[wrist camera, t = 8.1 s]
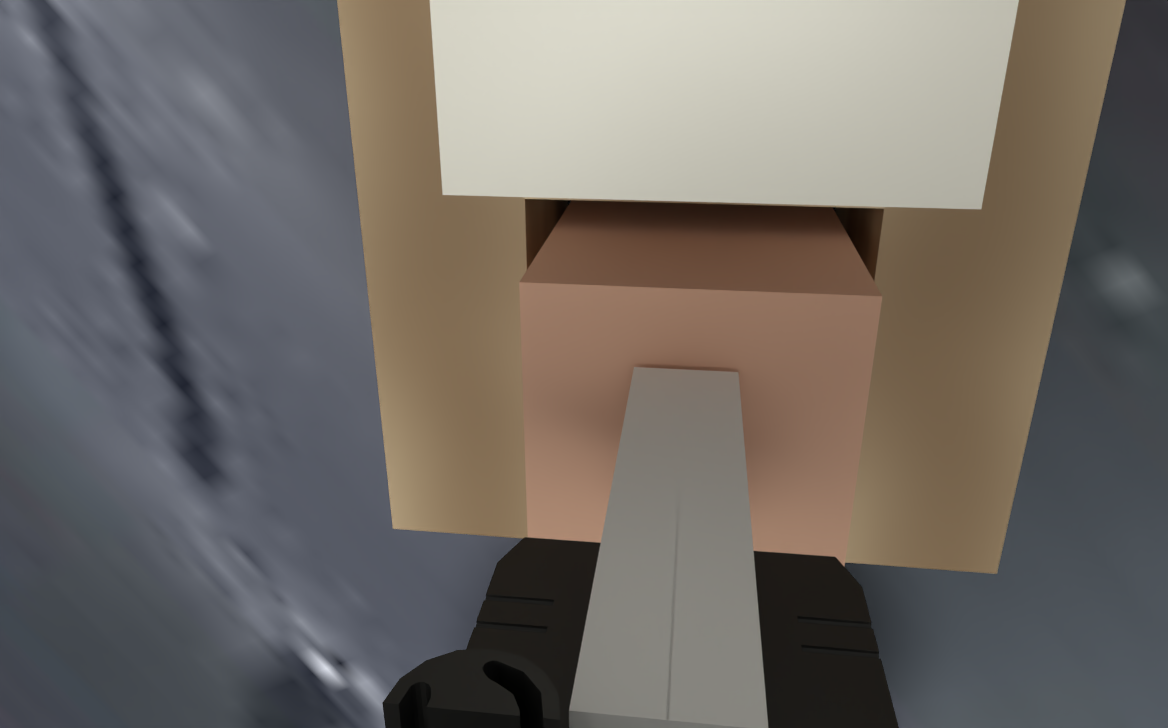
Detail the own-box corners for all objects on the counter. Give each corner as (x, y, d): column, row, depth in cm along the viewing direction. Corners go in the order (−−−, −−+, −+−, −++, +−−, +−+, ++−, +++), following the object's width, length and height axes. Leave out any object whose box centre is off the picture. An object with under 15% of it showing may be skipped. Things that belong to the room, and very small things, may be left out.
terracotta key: (821, 187, 18) (882, 296, 12) (798, 403, 20) (840, 596, 14) (583, 182, 19) (519, 282, 12) (584, 392, 21) (528, 572, 14)
